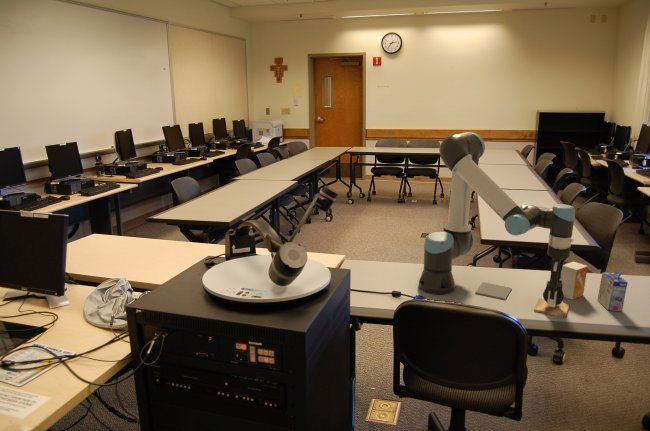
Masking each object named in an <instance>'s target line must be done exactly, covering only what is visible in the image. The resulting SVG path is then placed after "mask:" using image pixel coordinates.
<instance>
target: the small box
mask: <svg viewBox="0 0 650 431" xmlns="http://www.w3.org/2000/svg"><path fill="white" fill-rule="evenodd" d="M587 273H588V265H586V264H583V263H580V262H577V261H571V262H567V263H565V264H563V268H562V270H561V279H560V280H561V281H562V285H563V286H562V291H563V294H564V298H566V299H569V300H572V301H573V300H576V299H577V298H580V297H583V295H584V293H585V292H584V291H585V286H586V279H587Z"/></svg>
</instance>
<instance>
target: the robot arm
mask: <svg viewBox="0 0 650 431" xmlns="http://www.w3.org/2000/svg"><path fill="white" fill-rule="evenodd" d="M485 149H486V144H485V141H484V139H483V138H482V136H480V134H477V133H475V132H466V131H465V132H462V133H456V134H451V135H448V136H446V137H445V138H444V139H443V140H442V141H441V143H440V145H439V156H440V158H441V161H442V162H443V164H444V165H445V167H446V168H447V169H448V170H449V171H450V172H451V173H452V175H451V185H450V193H449V206H448V215H447V222H446V223H445V224H444V225H443V231H435V232H431V233H429V234H428V235H426V237H425V239H424V244H423V247H424V252H423V254H424V255H423V270H422V271H421V272H422V273H421V275H420V277H419V279H418V288H419V290H421V291H422V292H425V293H428V294H433V295H447V294H450V293H453V292H454V291H455V290H456V283H455V279H454V276H453V272H452V271H453V270H452V268H453V261H454V260H455V259H458V258H460V257H463V256H464V255H466V254H468V253H469V252H470V251H471V250H472V249H473V247H474V244H475V237H474V234H473V232H472V227H471V226H470V225H469V219H470V208H471V201H472V200H471V199H472V191H474V192H475V193H476V194H477V195H478V196H479V197H480V198H481V199H482V200H483V201H484V202H485V203H486V204H487V206H489V207H490V209H491V210H493V212H495V213H496V214H497V216H499V217H500V219H502V220H503V222H504V228H505V230H506V232H507V233H508V234H509V235H511V236H520V235H524V234H526V233H528V232H529V231H530V230H533V229H535V228H537V227H538V228H543V229H549V234H548V235H549V236H548V246H547V255H548V256H549V257H551V259H552V260H550V266H551V267H550V275H549V276H550V278H549V281H550V284H549V289H547V290H549V294H548V303H547V306H550V307H555V304H556V296H557V284H558V282H560V283H562V281H561V280H560V279H561V271H562V268H563V265H564V263H565V262H564V259H568V258H570V256H571V245H572V243H573V242H574V239H573V231H574V223H575V219H576V218H575V214H576V213H575V212H576V209H575V207H574V206H572V205H571V204H561V203H558V204H557V203H556V204H554V205H553V206H552V208H548V207H541V206H537V205H532V204H521V205H520V206H519V205H518V204H517V203H516V202H515V201H514V200H513V199H512V198H511V197H510V196H509V195H508V194H507V193H506V192H505V191H504V190H503V189H502V188H501V187H500V186H499V185H498V184H497V183H496V182H495V181H494V180H493V179H492V178H491V177H490V176H489V175H488V174H487V173H486V172H485V171H484V170H483V169H482V168H481V167H480V166H479V161H480V158H481V157H482V156H483V155H484V153H485V151H486V150H485Z"/></svg>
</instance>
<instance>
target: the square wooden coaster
mask: <svg viewBox="0 0 650 431" xmlns="http://www.w3.org/2000/svg"><path fill="white" fill-rule="evenodd" d="M569 308H570V304H568V303H564V302H562V303H561V304H559V305H555V307H550V306H547V302H546V301H545V300H544V298H538V300H537V302H536V304H535V306H534V308H533V312H537V313H540V314H541V313H542V314H546V315H551V316H556V317H561V318H564V319H565V318H567V314H568V312H569Z"/></svg>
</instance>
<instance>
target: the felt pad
mask: <svg viewBox="0 0 650 431" xmlns="http://www.w3.org/2000/svg"><path fill="white" fill-rule="evenodd" d="M511 291H512V287H511V286H510V287H509V286H505V285H499V284H494V283H489V282H481V284H480V285H479V287H478V288H477V289H476V291H475V294H477V295H480V296H481V295H482V296H486V297H490V298H494V299H500V300H504V301H505V300H507V298H508V296H509V294H510V292H511Z"/></svg>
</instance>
